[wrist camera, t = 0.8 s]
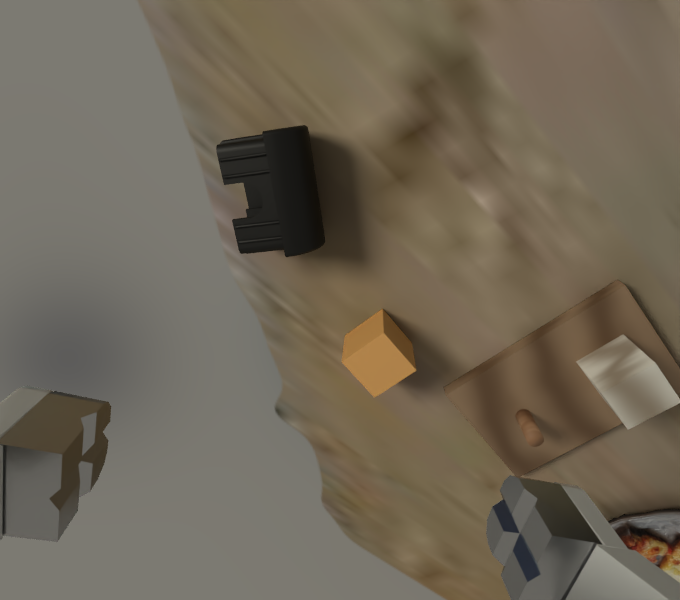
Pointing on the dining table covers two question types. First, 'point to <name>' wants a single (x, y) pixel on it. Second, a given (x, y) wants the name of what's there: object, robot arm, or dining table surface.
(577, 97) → the dining table surface
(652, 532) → the food plate
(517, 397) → the peg board
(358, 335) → the tan wooden cube
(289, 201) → the end cap
